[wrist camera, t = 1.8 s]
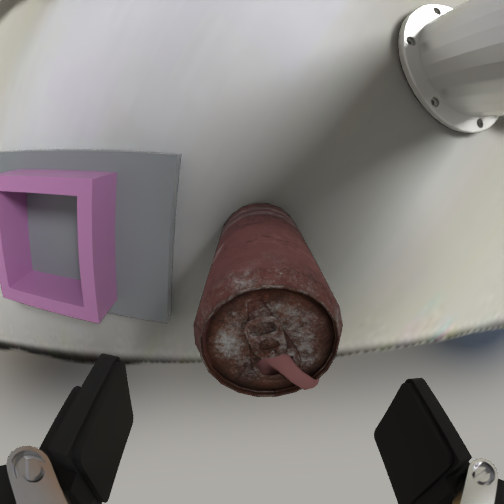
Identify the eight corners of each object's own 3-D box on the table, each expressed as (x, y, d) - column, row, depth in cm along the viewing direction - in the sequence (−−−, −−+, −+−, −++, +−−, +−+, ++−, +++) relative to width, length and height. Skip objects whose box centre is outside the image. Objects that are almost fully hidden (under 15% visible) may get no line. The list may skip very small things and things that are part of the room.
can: (268, 289, 26) (282, 421, 13) (206, 246, 24) (161, 358, 11) (315, 235, 24) (382, 338, 11) (253, 186, 23) (257, 244, 10)
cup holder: (181, 154, 22) (160, 157, 17) (170, 314, 27) (155, 351, 21) (-1, 151, 21) (-38, 158, 16) (8, 279, 26) (-21, 301, 20)
